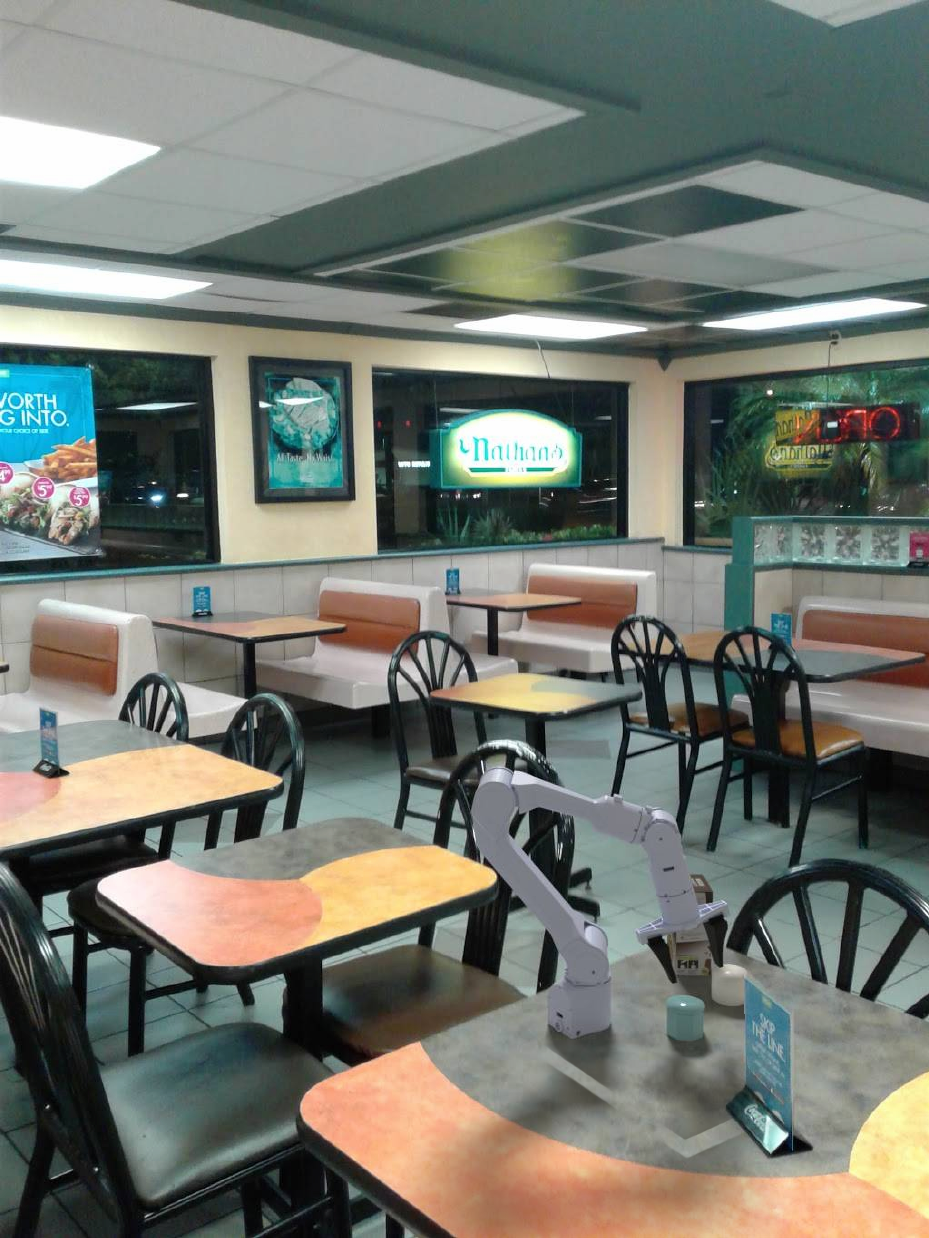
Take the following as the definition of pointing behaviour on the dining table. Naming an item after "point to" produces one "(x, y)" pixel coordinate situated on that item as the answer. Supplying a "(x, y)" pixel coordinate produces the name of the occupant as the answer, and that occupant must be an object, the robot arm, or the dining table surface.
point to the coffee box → (692, 938)
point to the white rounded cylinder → (728, 985)
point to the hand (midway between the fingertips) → (696, 973)
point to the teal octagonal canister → (685, 1017)
